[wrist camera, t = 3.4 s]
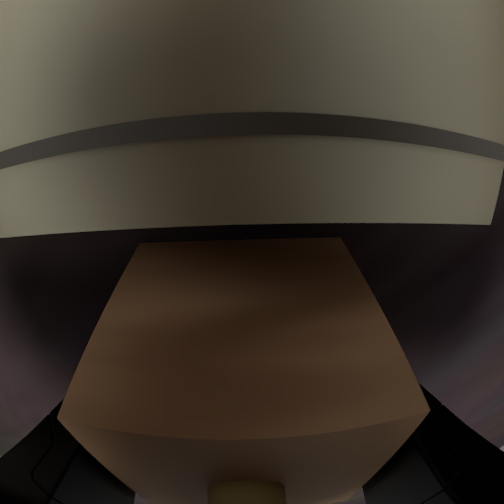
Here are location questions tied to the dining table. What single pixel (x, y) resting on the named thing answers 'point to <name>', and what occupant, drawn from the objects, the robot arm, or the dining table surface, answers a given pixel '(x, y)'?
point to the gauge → (243, 375)
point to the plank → (248, 113)
